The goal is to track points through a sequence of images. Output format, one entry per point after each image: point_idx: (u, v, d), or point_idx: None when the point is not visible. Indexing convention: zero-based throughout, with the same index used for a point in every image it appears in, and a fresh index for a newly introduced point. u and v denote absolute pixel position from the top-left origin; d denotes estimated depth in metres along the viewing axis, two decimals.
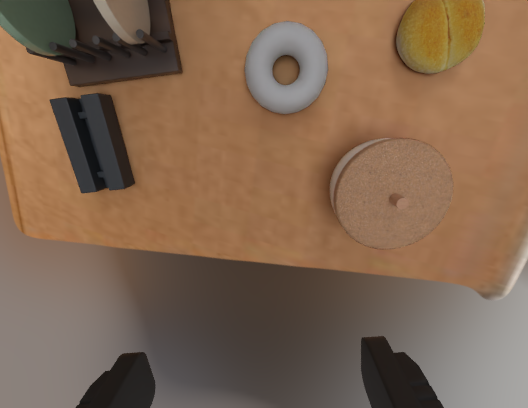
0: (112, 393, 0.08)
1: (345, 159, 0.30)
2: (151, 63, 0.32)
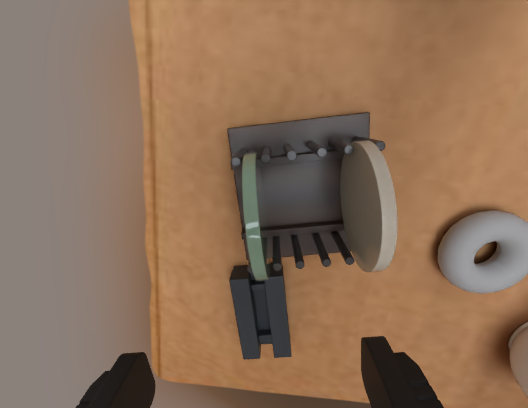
0: (112, 393, 0.08)
1: None
2: None
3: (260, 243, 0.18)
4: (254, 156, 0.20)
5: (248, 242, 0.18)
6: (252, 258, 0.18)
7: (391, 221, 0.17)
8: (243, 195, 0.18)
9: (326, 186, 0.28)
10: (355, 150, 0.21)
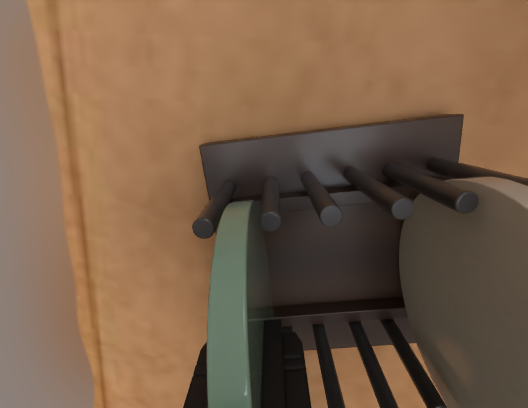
0: None
1: None
2: None
3: None
4: (245, 222, 0.08)
5: None
6: None
7: None
8: (209, 364, 0.06)
9: (376, 242, 0.16)
10: None
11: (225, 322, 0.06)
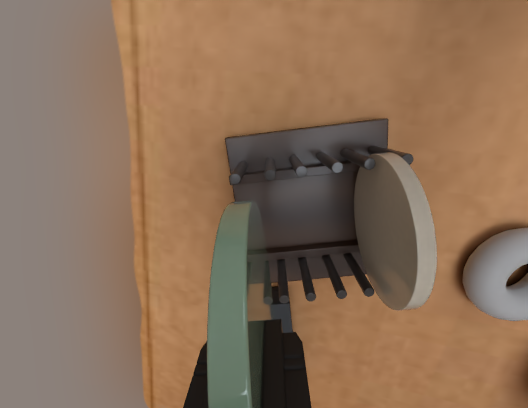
0: None
1: None
2: None
3: None
4: (245, 222, 0.08)
5: None
6: None
7: (429, 256, 0.14)
8: (209, 363, 0.06)
9: (338, 202, 0.24)
10: (376, 164, 0.18)
11: (225, 322, 0.06)
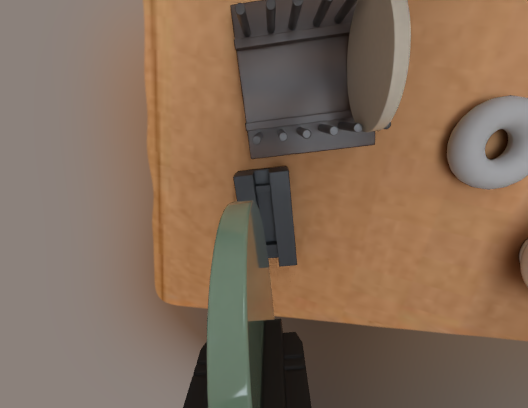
0: None
1: None
2: (345, 137, 0.29)
3: None
4: (245, 222, 0.08)
5: None
6: None
7: (404, 32, 0.16)
8: (209, 364, 0.06)
9: (333, 70, 0.27)
10: None
11: (225, 322, 0.06)
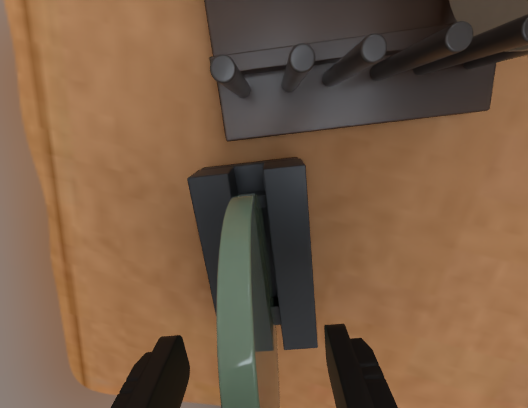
0: (158, 370, 0.08)
1: None
2: (428, 93, 0.13)
3: None
4: (248, 212, 0.09)
5: None
6: None
7: None
8: (219, 330, 0.07)
9: None
10: None
11: (232, 295, 0.07)
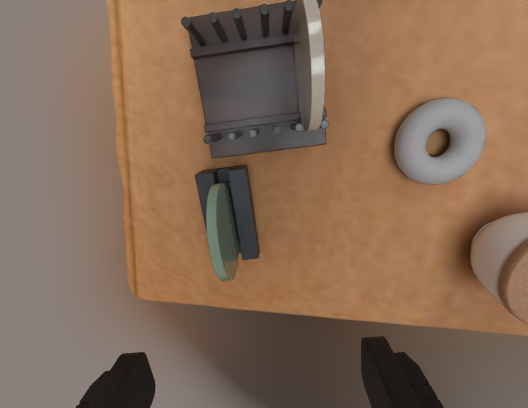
0: (112, 393, 0.08)
1: (509, 237, 0.29)
2: (298, 137, 0.31)
3: (220, 256, 0.24)
4: (217, 189, 0.27)
5: (211, 255, 0.24)
6: (215, 266, 0.25)
7: (318, 42, 0.18)
8: (207, 221, 0.24)
9: (283, 75, 0.29)
10: (296, 10, 0.23)
11: (210, 212, 0.25)
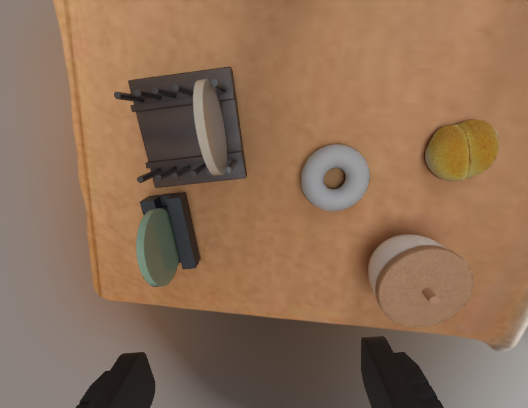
0: (112, 393, 0.08)
1: (384, 255, 0.37)
2: None
3: (146, 267, 0.32)
4: (150, 214, 0.34)
5: (139, 266, 0.32)
6: (143, 275, 0.33)
7: (200, 123, 0.26)
8: (137, 240, 0.32)
9: None
10: None
11: (140, 233, 0.32)
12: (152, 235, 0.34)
